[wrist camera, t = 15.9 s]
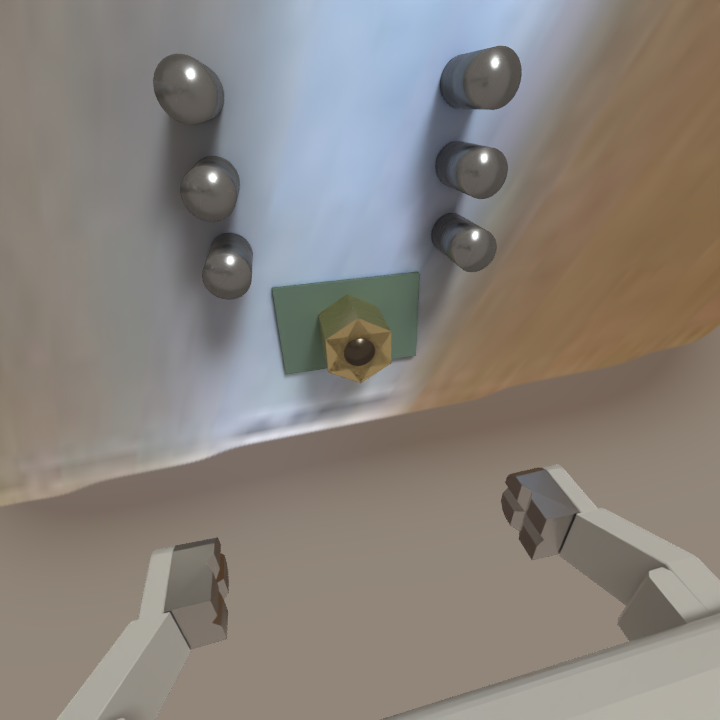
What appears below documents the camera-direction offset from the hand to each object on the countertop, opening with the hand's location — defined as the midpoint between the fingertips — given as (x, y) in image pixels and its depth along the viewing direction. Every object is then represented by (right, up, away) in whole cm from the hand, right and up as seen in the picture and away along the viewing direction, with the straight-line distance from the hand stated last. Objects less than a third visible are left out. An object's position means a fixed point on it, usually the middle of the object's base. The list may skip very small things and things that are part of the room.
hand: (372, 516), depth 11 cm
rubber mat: (-1, +7, +24) cm, 25 cm away
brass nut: (-1, +7, +24) cm, 25 cm away
